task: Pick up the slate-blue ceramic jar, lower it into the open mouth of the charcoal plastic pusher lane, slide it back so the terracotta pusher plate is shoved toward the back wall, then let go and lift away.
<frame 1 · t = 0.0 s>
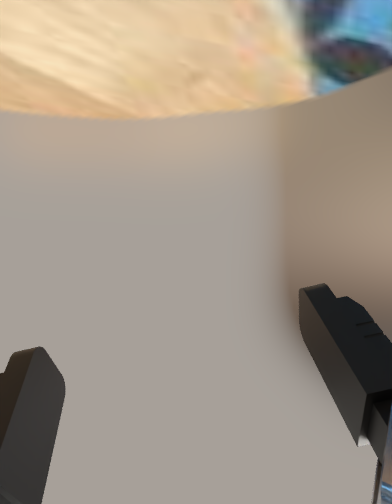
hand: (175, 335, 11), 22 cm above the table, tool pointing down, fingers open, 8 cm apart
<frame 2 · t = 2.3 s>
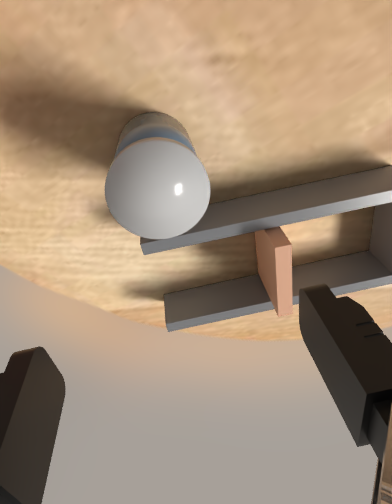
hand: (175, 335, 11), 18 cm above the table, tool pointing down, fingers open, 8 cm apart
lane: (261, 241, 31), on the table
pusher: (272, 260, 28), point 3 cm above the table, slide at 0.0 cm
jar: (155, 151, 25), on the table
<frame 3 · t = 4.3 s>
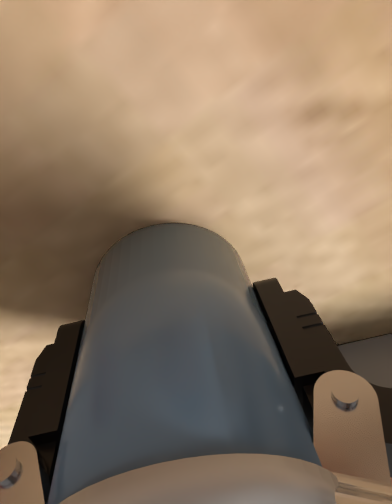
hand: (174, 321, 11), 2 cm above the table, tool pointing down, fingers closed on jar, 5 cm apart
lane: (351, 400, 18), on the table
pusher: (387, 464, 15), point 3 cm above the table, slide at 0.0 cm
jar: (171, 289, 12), on the table, touching gripper
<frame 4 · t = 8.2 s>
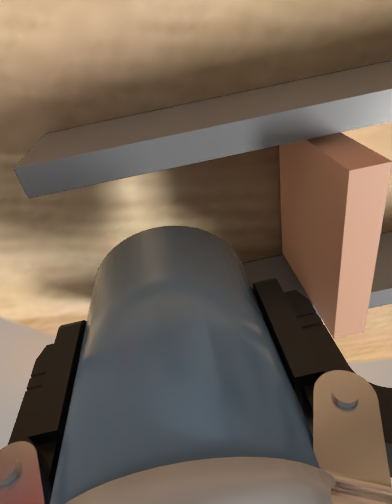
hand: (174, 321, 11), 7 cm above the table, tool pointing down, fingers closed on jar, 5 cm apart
lane: (291, 189, 16), on the table
pusher: (319, 221, 14), point 3 cm above the table, slide at 0.0 cm
jar: (172, 292, 12), point 5 cm above the table, touching gripper
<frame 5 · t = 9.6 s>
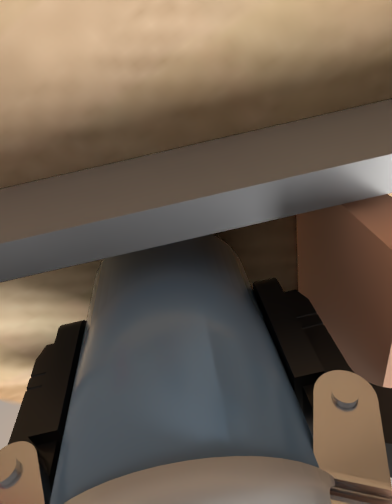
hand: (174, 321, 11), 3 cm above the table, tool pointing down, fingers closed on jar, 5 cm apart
lane: (292, 243, 14), on the table
pusher: (349, 290, 11), point 3 cm above the table, slide at 0.7 cm, touching gripper
jar: (171, 291, 12), point 1 cm above the table, touching gripper
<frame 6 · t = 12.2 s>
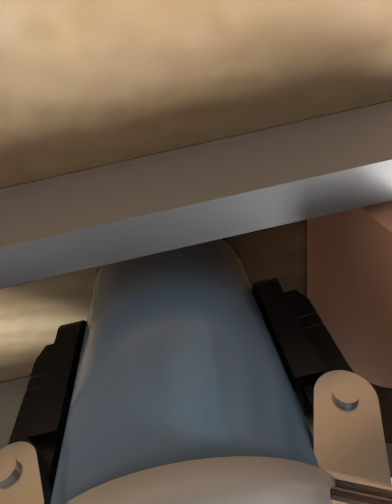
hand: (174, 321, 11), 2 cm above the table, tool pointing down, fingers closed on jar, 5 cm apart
lane: (131, 284, 13), on the table
pusher: (364, 296, 11), point 3 cm above the table, slide at 7.5 cm, touching gripper
jar: (172, 292, 12), point 1 cm above the table, touching gripper
when the fingers open (2 cm above the table, at t = 12.2 s): jar stays where it is, resting in lane.
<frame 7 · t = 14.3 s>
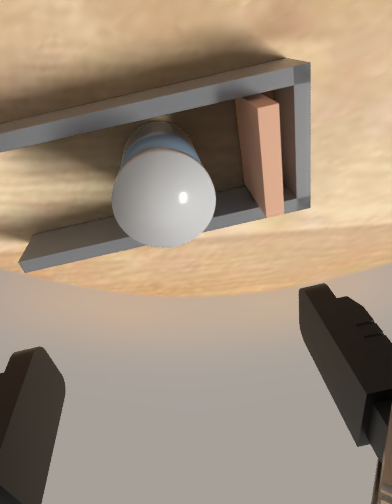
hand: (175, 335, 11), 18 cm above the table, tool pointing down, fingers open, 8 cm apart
lane: (140, 163, 26), on the table
pusher: (258, 151, 23), point 3 cm above the table, slide at 8.2 cm
jar: (159, 159, 26), resting in lane
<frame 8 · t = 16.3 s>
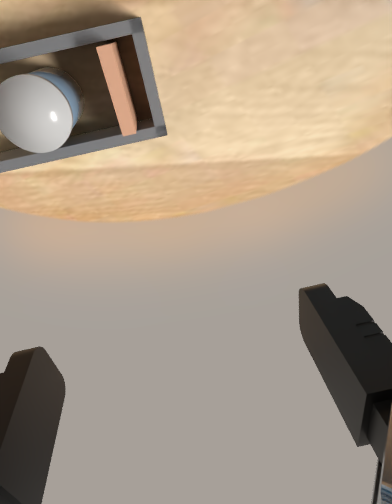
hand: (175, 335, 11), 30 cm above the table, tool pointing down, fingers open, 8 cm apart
lane: (39, 101, 33), on the table
pusher: (119, 88, 31), point 3 cm above the table, slide at 8.2 cm
jar: (55, 98, 33), resting in lane
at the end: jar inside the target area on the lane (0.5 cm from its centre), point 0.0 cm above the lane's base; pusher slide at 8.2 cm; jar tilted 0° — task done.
